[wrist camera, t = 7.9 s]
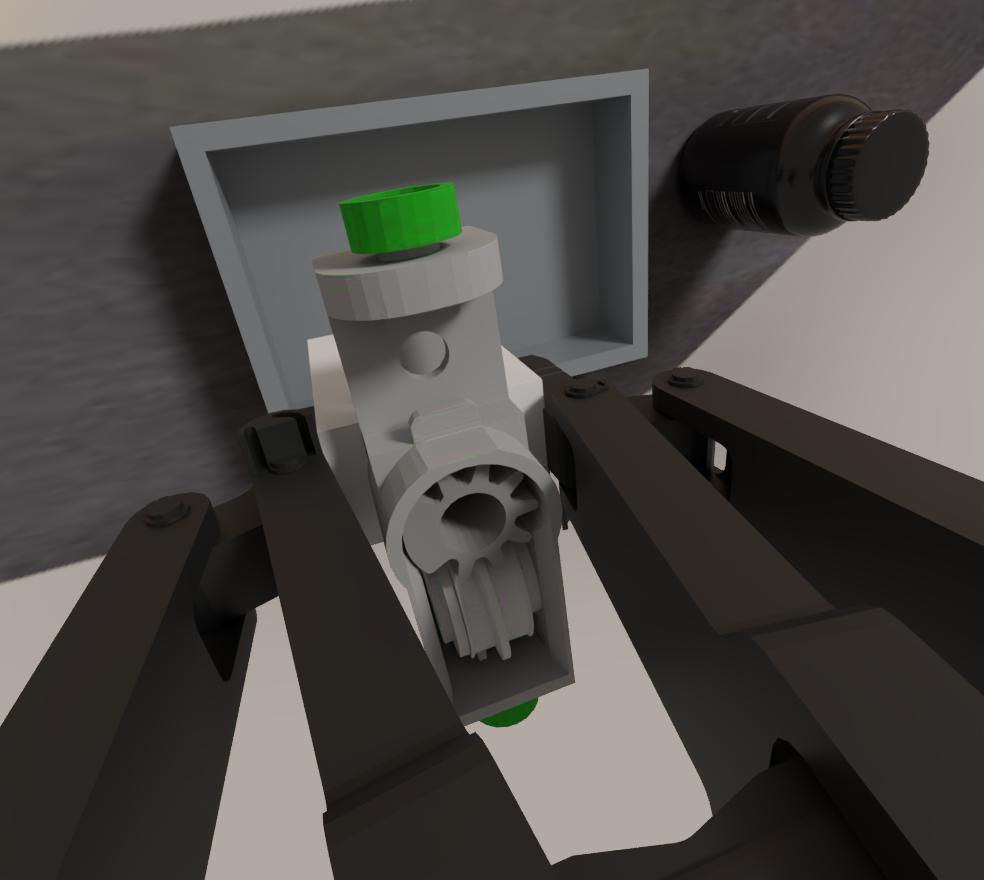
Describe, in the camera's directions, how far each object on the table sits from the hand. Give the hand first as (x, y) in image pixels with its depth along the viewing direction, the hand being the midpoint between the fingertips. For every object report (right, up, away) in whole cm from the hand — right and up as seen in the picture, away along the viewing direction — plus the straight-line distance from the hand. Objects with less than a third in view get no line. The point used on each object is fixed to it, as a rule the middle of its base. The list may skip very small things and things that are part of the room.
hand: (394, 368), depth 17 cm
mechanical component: (0, +1, +1) cm, 1 cm away
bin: (0, +9, +16) cm, 18 cm away
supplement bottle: (+18, +16, +20) cm, 31 cm away
